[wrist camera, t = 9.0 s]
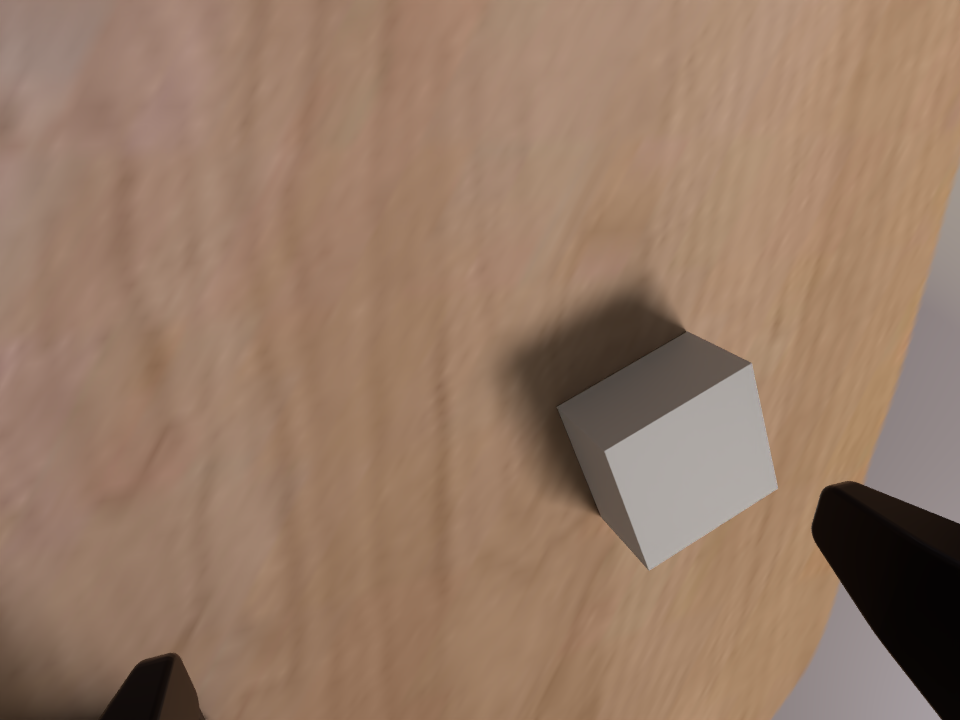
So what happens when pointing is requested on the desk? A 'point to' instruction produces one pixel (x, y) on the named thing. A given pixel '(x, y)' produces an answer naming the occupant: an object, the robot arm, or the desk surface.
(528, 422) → the desk surface
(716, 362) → the slate block
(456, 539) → the desk surface
